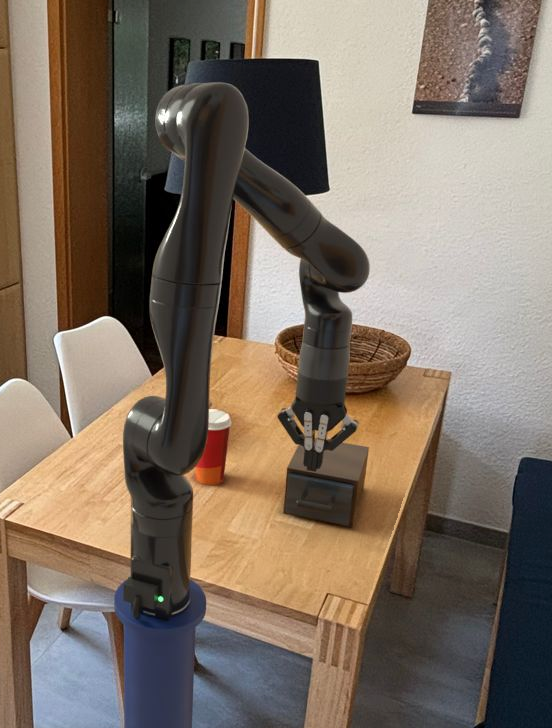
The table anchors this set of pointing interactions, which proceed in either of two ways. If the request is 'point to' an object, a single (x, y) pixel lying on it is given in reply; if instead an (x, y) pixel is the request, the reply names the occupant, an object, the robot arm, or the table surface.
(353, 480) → the cabinet
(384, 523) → the table surface
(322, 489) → the drawer
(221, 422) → the paper cup
